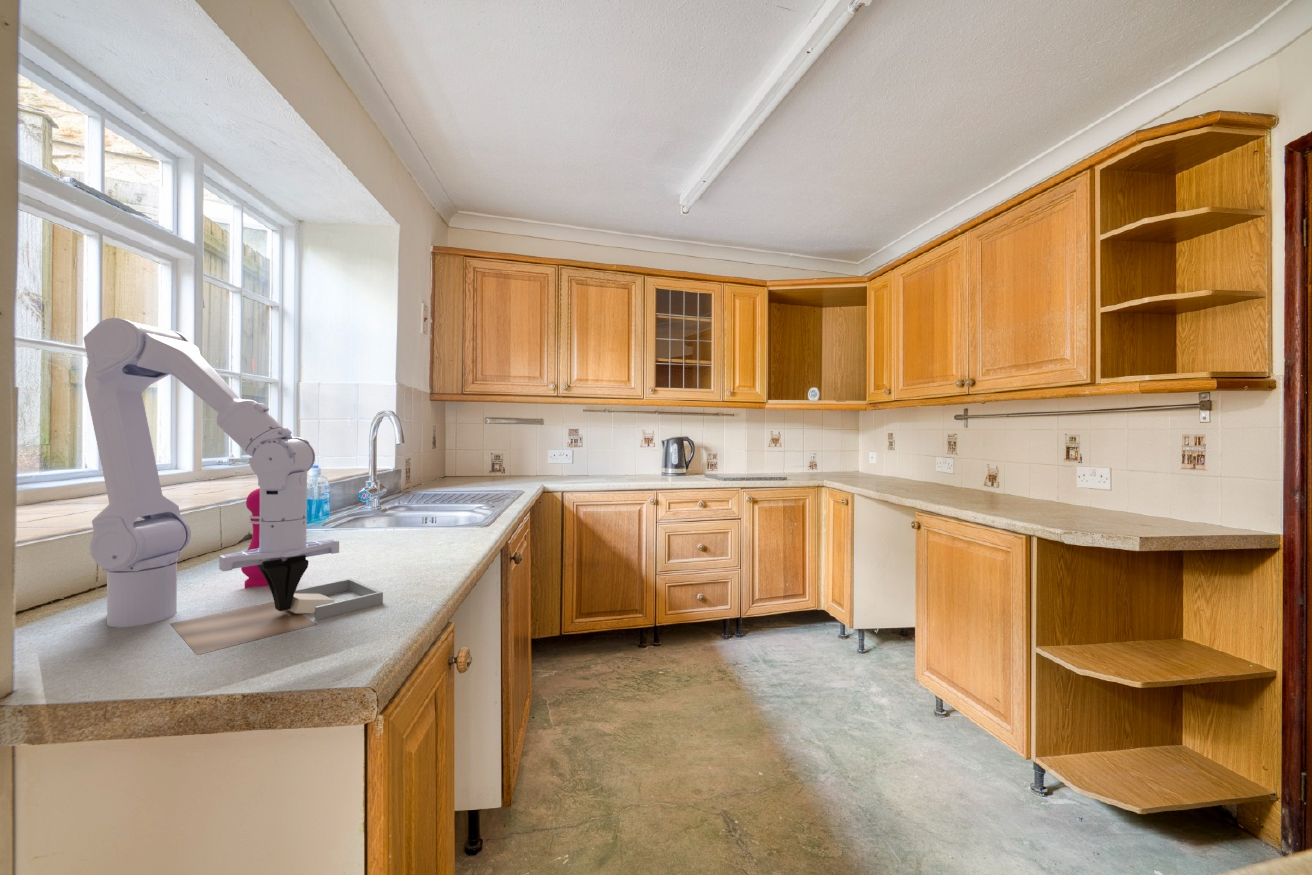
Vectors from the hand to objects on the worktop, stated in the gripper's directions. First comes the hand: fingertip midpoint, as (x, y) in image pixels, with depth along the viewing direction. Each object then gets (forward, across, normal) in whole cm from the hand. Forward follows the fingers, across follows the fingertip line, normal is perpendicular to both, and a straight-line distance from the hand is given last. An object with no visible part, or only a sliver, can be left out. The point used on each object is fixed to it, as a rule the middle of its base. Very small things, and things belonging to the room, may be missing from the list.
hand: (282, 608), depth 76 cm
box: (+2, +7, 0) cm, 7 cm away
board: (+2, -5, 0) cm, 5 cm away
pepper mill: (+2, +4, +22) cm, 23 cm away
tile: (+1, +3, 0) cm, 3 cm away
